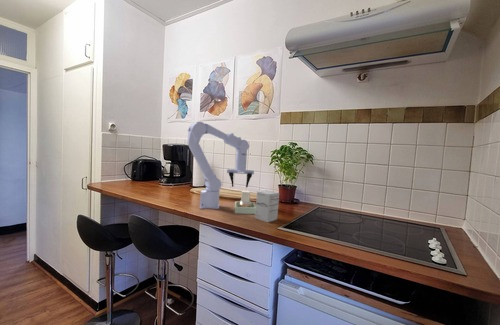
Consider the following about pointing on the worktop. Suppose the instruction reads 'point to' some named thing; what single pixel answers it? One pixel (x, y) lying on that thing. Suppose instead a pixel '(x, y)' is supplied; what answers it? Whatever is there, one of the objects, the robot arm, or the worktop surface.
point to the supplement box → (267, 205)
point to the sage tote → (245, 208)
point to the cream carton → (245, 196)
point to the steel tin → (245, 204)
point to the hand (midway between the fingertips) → (239, 186)
